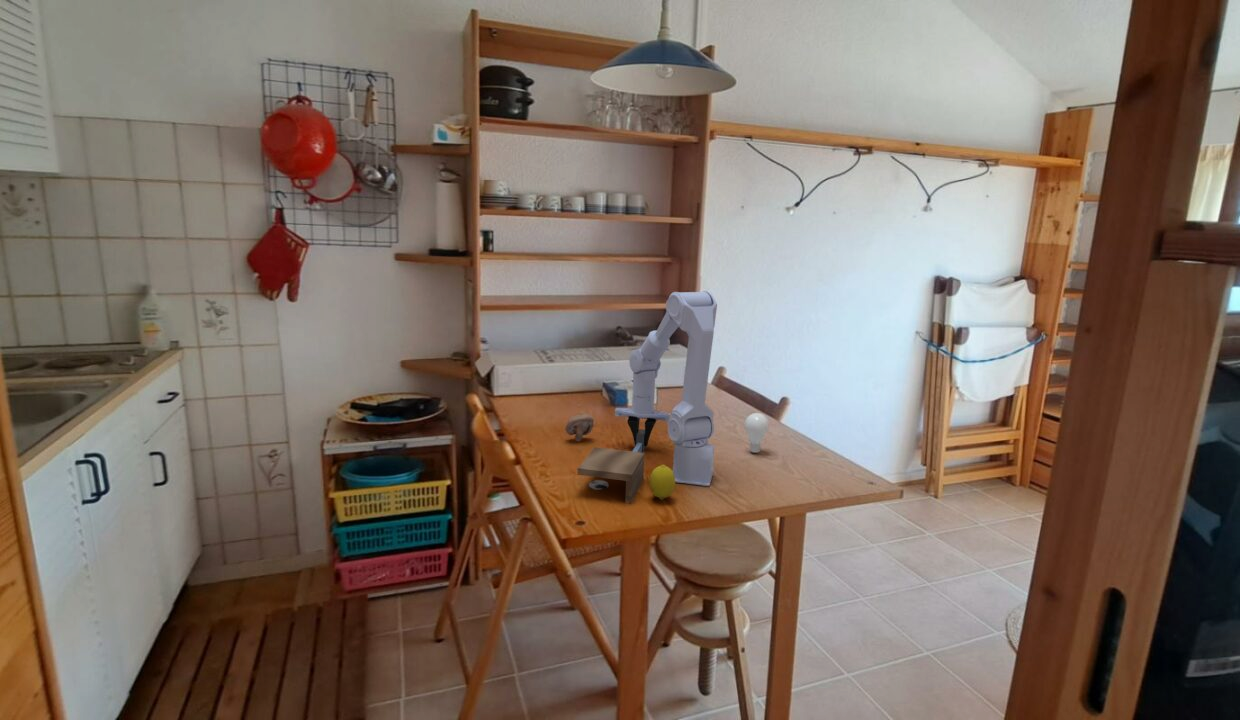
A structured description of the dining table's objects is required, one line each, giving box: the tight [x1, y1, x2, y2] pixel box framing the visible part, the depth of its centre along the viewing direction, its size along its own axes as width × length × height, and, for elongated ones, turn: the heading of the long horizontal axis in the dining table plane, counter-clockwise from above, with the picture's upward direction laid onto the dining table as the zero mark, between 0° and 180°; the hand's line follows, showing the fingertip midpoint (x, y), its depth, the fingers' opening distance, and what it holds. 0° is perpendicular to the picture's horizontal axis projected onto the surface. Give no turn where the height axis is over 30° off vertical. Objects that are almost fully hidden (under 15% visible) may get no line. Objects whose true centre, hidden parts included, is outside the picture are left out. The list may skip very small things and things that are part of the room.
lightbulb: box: [744, 412, 770, 454], centre depth 170 cm, size 6×6×11 cm
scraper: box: [632, 428, 647, 453], centre depth 162 cm, size 2×20×5 cm, turn 167°
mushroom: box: [565, 413, 595, 442], centre depth 174 cm, size 8×6×8 cm
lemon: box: [649, 464, 676, 501], centre depth 139 cm, size 6×6×8 cm
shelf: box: [577, 446, 645, 504], centre depth 144 cm, size 12×14×6 cm
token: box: [588, 479, 609, 491], centre depth 146 cm, size 4×4×1 cm
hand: (641, 444), depth 170 cm, fingers closed on scraper, 2 cm apart
